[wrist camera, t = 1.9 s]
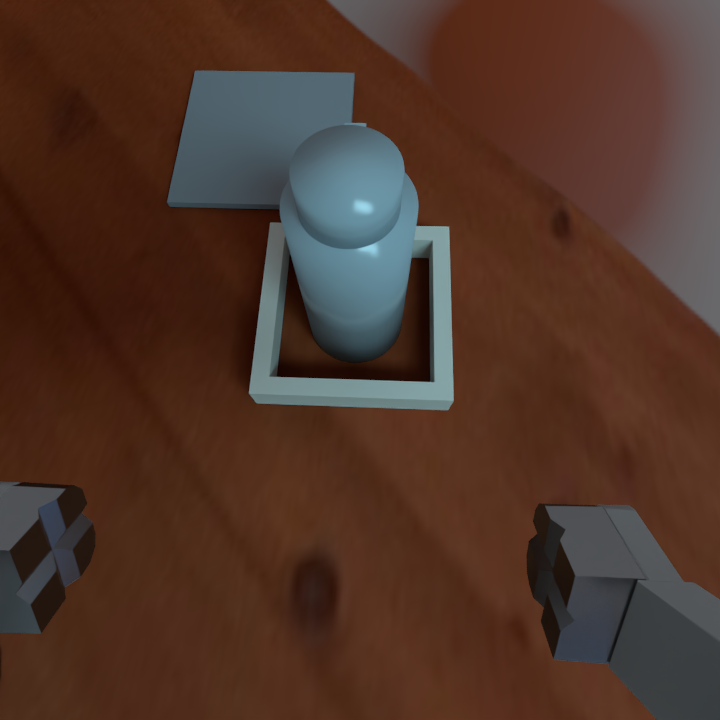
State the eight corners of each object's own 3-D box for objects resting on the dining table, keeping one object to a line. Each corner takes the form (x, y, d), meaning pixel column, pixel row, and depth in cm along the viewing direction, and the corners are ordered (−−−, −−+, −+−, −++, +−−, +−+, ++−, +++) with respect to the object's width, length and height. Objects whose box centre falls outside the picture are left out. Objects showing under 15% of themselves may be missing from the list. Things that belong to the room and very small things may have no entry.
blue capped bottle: (306, 361, 29) (261, 232, 17) (316, 244, 32) (283, 62, 20) (401, 364, 29) (424, 236, 17) (402, 246, 32) (423, 64, 20)
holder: (256, 403, 28) (248, 393, 26) (275, 241, 32) (270, 222, 30) (447, 410, 28) (453, 400, 26) (444, 245, 32) (449, 226, 30)
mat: (169, 206, 33) (166, 202, 33) (197, 76, 37) (195, 70, 37) (346, 210, 33) (345, 206, 32) (354, 78, 37) (354, 72, 37)
